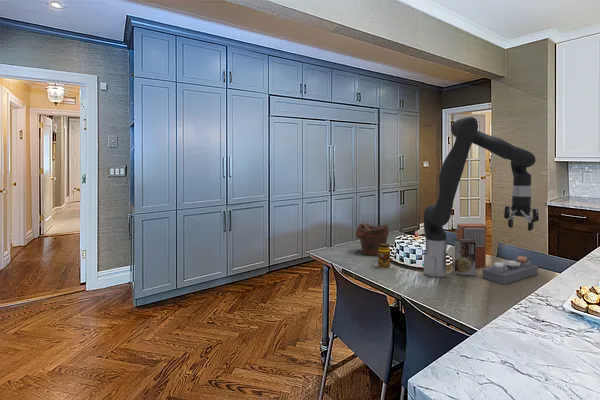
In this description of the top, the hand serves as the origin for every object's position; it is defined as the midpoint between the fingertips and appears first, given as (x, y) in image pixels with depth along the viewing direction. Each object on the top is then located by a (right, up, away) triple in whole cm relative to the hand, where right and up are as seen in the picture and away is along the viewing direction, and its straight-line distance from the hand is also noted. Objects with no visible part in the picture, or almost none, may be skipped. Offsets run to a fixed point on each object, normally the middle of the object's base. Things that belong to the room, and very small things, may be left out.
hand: (520, 229), depth 160 cm
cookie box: (-25, -22, +2) cm, 33 cm away
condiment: (-61, -21, +16) cm, 67 cm away
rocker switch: (-8, -16, -5) cm, 18 cm away
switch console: (-7, -22, -4) cm, 23 cm away
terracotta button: (0, -15, -1) cm, 16 cm away
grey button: (-16, -17, -9) cm, 24 cm away
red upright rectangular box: (-17, -20, +14) cm, 29 cm away
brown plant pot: (-61, -18, +44) cm, 77 cm away
